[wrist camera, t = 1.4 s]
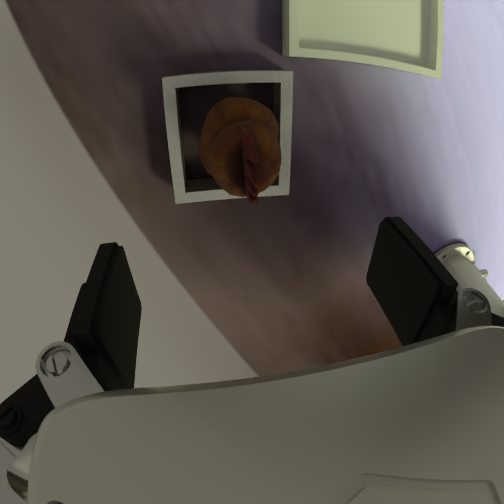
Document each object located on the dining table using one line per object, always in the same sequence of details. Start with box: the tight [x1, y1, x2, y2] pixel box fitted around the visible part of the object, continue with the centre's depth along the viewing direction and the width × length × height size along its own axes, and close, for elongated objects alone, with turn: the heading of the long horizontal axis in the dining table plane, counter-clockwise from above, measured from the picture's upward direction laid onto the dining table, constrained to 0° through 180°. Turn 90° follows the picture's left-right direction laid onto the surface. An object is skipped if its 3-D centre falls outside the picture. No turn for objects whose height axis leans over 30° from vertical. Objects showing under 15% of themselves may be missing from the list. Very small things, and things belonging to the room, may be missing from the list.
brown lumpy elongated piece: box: [199, 97, 282, 203], centre depth 21 cm, size 7×6×15 cm
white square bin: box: [162, 69, 293, 204], centre depth 26 cm, size 10×11×3 cm
